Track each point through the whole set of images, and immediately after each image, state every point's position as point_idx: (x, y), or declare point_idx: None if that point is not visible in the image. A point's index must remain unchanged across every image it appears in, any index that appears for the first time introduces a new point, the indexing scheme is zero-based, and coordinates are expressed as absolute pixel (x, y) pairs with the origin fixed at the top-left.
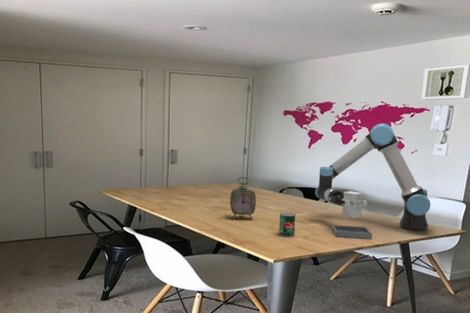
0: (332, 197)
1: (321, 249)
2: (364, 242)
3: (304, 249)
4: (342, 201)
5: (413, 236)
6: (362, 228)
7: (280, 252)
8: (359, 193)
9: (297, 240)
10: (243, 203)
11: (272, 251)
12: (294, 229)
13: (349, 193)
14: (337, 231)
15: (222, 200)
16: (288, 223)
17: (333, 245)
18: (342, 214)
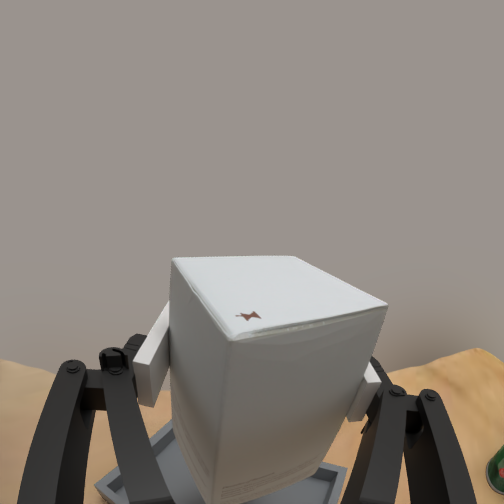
0: (465, 470)
1: (412, 376)
2: None
3: (446, 377)
4: (376, 364)
5: (4, 367)
6: (119, 497)
7: (479, 365)
8: (233, 256)
9: (471, 433)
10: None
11: (491, 368)
12: (501, 454)
13: (338, 280)
14: (339, 466)
15: None
16: None
17: None
18: (316, 468)
